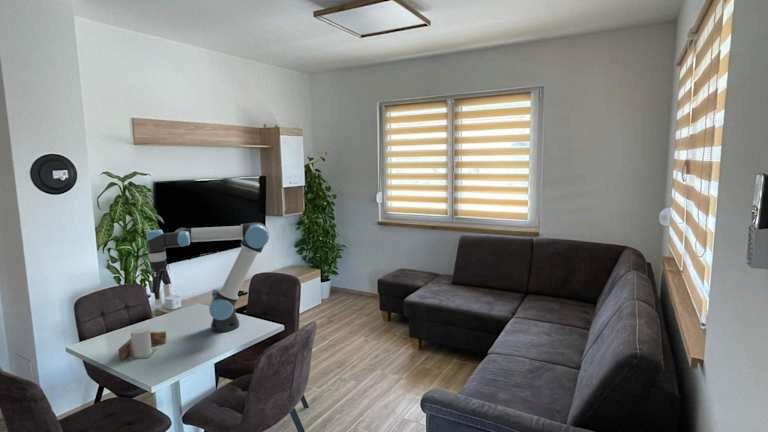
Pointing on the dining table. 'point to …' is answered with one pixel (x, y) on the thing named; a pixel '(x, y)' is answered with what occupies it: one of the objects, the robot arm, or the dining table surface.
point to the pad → (141, 357)
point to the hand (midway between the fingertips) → (163, 300)
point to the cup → (141, 342)
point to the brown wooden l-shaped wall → (155, 339)
